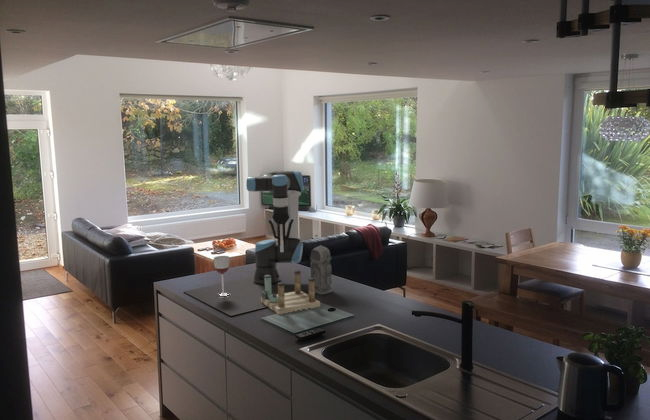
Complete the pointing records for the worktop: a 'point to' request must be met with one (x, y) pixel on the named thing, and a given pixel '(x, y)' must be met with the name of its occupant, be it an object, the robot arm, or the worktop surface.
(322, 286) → the figurine
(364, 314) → the worktop surface
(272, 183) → the robot arm
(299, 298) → the stool
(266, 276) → the folding leg
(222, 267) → the wineglass
